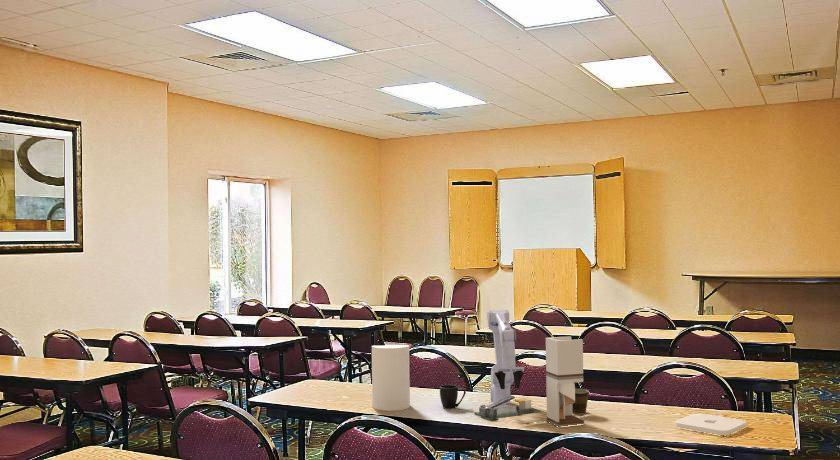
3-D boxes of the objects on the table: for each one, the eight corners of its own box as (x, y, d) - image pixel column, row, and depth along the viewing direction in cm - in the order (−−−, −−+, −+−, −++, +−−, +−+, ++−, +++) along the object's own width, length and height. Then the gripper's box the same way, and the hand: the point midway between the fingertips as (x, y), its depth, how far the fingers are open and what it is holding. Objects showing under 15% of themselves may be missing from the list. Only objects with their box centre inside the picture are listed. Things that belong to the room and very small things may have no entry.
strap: (483, 409, 322) (482, 406, 321) (510, 397, 328) (509, 394, 328) (488, 411, 318) (488, 408, 318) (515, 398, 324) (515, 396, 324)
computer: (671, 428, 298) (671, 421, 298) (696, 419, 314) (696, 412, 314) (726, 438, 283) (726, 431, 283) (749, 427, 298) (749, 421, 298)
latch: (514, 409, 330) (514, 399, 330) (524, 408, 332) (524, 397, 332) (521, 411, 325) (520, 401, 325) (531, 410, 328) (531, 399, 328)
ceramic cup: (581, 410, 330) (580, 387, 330) (594, 415, 321) (593, 392, 321) (555, 413, 325) (555, 390, 326) (568, 418, 316) (567, 394, 316)
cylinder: (409, 410, 334) (409, 347, 335) (371, 410, 334) (370, 348, 335) (410, 402, 352) (409, 342, 352) (373, 402, 351) (372, 343, 352)
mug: (462, 410, 333) (462, 389, 333) (437, 408, 337) (437, 387, 337) (468, 406, 340) (467, 385, 340) (443, 404, 345) (443, 384, 345)
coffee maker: (558, 427, 300) (557, 340, 301) (546, 421, 310) (545, 337, 311) (584, 425, 303) (582, 339, 304) (571, 419, 314) (570, 336, 314)
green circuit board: (473, 414, 325) (473, 404, 325) (525, 407, 338) (524, 397, 338) (490, 421, 312) (490, 410, 312) (543, 413, 325) (543, 403, 325)
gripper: (499, 357, 320) (501, 389, 318) (527, 356, 327) (528, 388, 325) (490, 357, 326) (492, 389, 324) (518, 356, 333) (519, 387, 331)
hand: (509, 388), depth 325 cm, fingers open, 7 cm apart
